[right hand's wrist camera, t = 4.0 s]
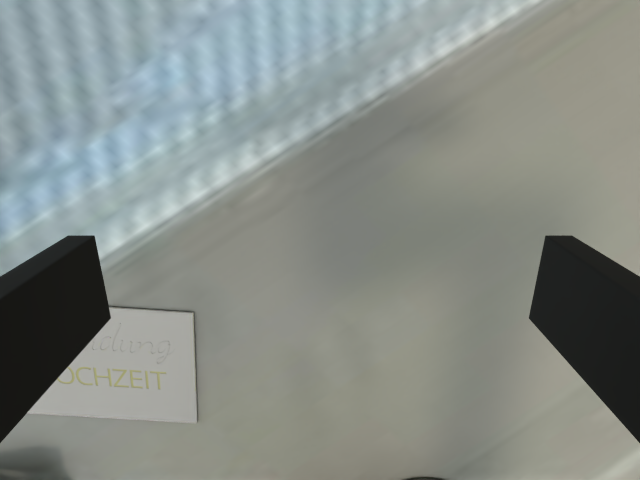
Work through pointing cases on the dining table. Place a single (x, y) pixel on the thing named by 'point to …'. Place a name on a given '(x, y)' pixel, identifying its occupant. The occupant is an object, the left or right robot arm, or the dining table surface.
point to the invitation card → (131, 371)
